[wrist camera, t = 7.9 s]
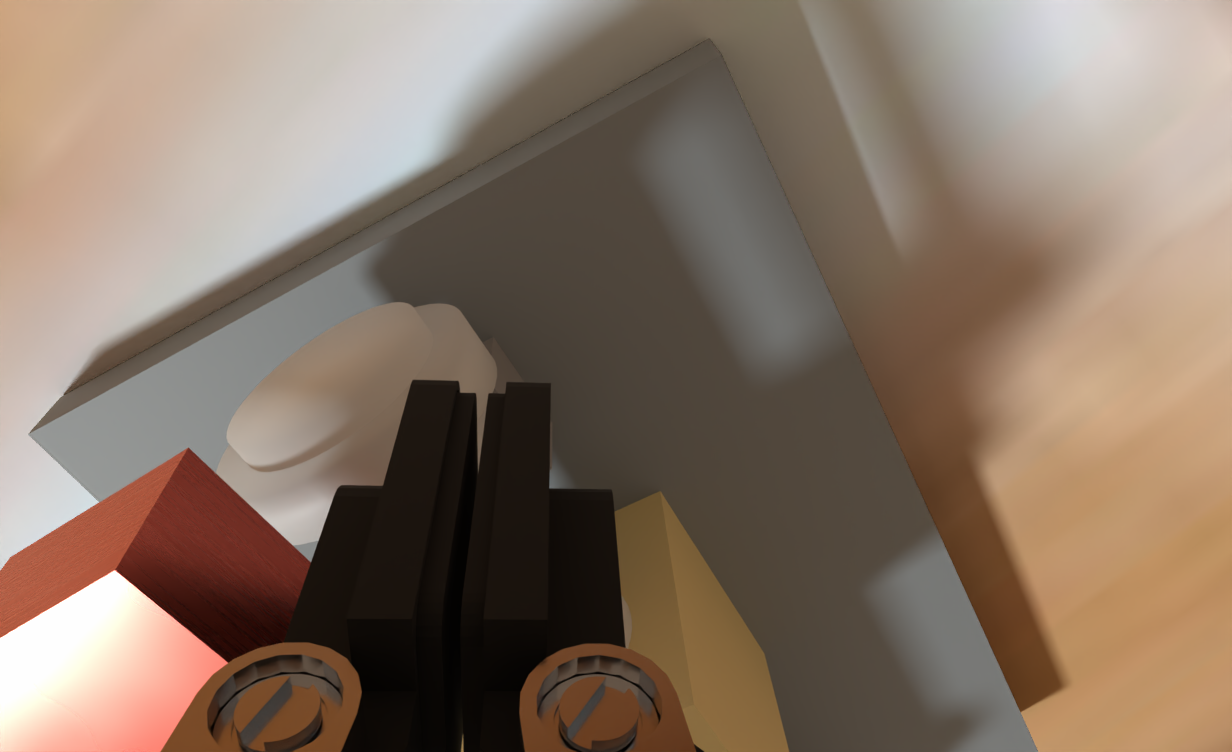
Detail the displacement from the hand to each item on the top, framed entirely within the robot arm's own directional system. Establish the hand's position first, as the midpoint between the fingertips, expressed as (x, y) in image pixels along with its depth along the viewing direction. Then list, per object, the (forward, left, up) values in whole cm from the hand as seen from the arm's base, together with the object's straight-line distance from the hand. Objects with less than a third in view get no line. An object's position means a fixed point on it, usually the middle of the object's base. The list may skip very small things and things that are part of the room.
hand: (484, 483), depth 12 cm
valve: (-10, +3, -9) cm, 14 cm away
